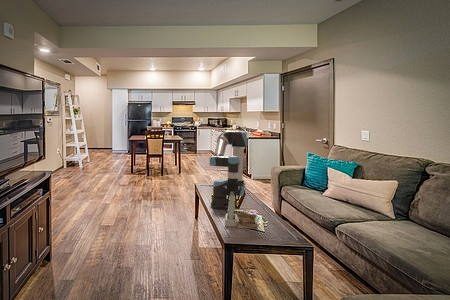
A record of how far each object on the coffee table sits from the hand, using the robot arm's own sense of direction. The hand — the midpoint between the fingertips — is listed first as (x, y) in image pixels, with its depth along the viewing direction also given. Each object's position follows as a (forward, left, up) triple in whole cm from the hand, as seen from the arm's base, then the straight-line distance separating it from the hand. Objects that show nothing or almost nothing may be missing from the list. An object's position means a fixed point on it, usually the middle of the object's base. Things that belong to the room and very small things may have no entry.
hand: (231, 209), depth 240 cm
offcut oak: (+5, +11, -6) cm, 13 cm away
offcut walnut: (+4, +11, -8) cm, 14 cm away
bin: (0, 0, -10) cm, 10 cm away
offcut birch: (+5, +11, -11) cm, 16 cm away
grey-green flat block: (0, 0, -8) cm, 8 cm away
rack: (+1, +11, -10) cm, 15 cm away
